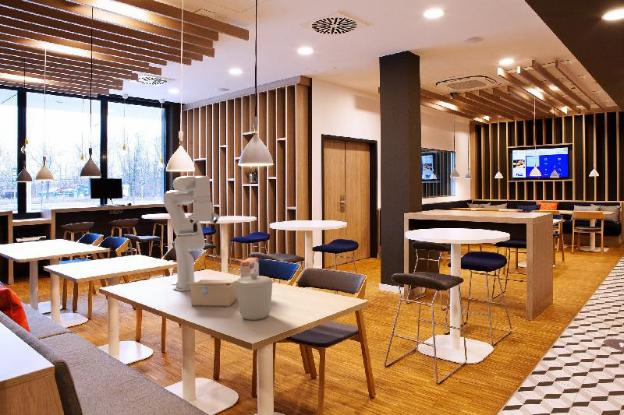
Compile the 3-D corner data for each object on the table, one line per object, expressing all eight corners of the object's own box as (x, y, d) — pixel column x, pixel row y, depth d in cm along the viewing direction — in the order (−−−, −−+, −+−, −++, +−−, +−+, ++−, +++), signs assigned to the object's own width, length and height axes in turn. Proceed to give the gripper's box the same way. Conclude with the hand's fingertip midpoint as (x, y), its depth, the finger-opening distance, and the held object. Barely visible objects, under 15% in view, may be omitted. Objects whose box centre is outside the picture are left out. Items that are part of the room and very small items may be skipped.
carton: (191, 305, 229) (190, 285, 228) (201, 299, 242) (201, 279, 241) (229, 306, 226) (228, 285, 225) (237, 299, 238) (236, 280, 238)
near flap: (191, 285, 228) (189, 296, 226) (186, 282, 223) (184, 293, 220) (227, 285, 225) (226, 297, 223) (223, 282, 219) (221, 294, 217)
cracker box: (251, 301, 234) (250, 261, 233) (240, 301, 235) (239, 261, 234) (260, 294, 248) (259, 257, 246) (249, 294, 249) (248, 257, 248)
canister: (274, 322, 200) (273, 274, 198) (233, 324, 198) (231, 276, 197) (274, 310, 218) (273, 267, 216) (237, 312, 216) (235, 268, 215)
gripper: (184, 200, 236) (185, 232, 237) (215, 199, 233) (217, 232, 234) (190, 199, 243) (192, 231, 244) (221, 198, 240) (222, 230, 241)
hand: (204, 231), depth 239 cm, fingers open, 9 cm apart
